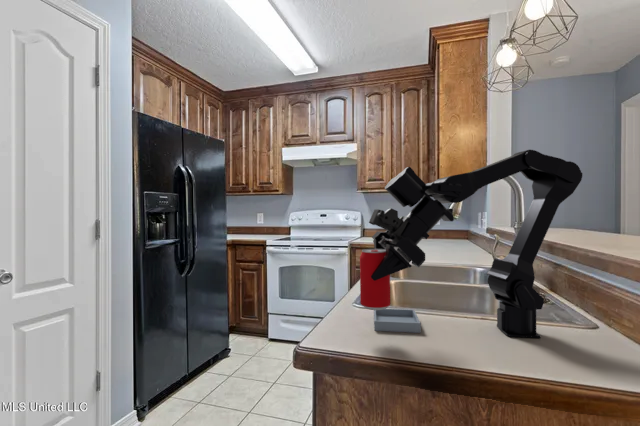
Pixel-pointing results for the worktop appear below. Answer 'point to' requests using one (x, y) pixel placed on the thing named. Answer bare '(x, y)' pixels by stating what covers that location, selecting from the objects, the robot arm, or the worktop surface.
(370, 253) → the beverage can
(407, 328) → the tray
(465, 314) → the worktop surface
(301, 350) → the worktop surface
